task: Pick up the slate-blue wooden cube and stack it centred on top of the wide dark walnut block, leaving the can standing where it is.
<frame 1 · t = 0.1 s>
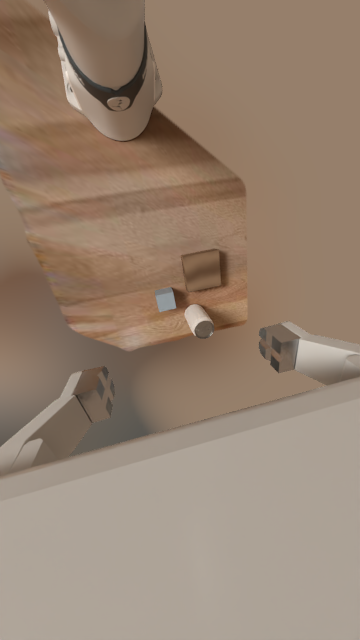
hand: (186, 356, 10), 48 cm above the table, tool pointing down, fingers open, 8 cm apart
walnut block: (199, 269, 57), on the table
can: (193, 312, 63), on the table
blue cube: (164, 296, 59), on the table
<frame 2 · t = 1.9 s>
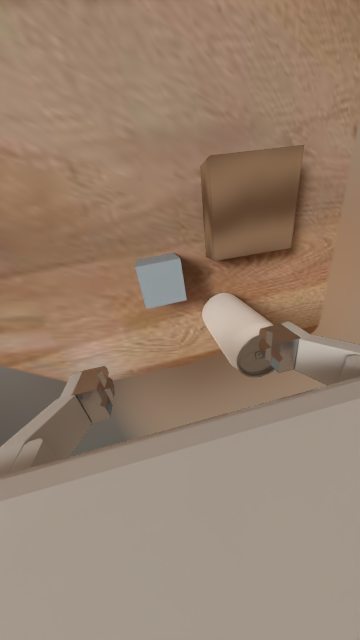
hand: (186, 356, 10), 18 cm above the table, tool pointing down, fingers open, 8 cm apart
walnut block: (239, 210, 25), on the table
can: (220, 310, 31), on the table
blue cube: (159, 275, 26), on the table
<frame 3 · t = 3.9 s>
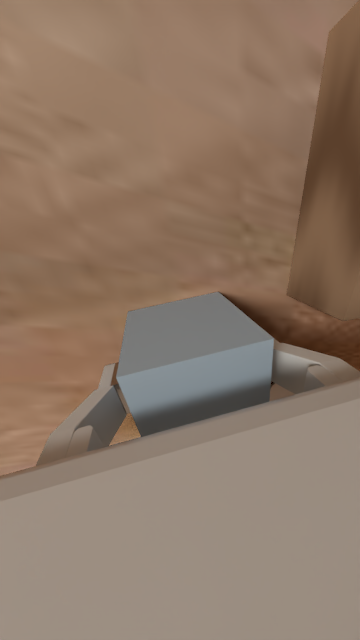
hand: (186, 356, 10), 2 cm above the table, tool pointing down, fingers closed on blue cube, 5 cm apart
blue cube: (181, 340, 11), on the table, touching gripper
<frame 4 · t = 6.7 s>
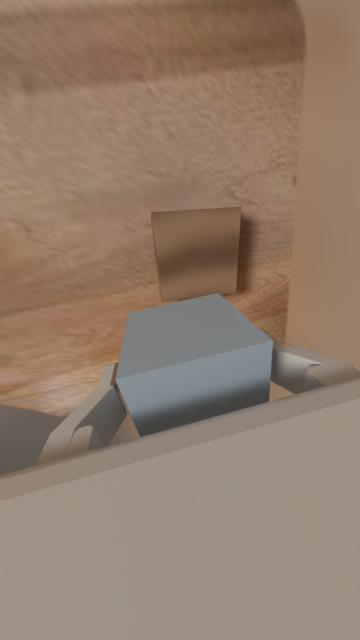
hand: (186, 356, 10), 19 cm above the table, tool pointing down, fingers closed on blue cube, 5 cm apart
walnut block: (191, 254, 26), on the table
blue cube: (181, 341, 11), point 17 cm above the table, touching gripper
when the fingers open (7 cm above the table, at t = 9.5 s): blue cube drops 1 cm, point 4 cm above the table.
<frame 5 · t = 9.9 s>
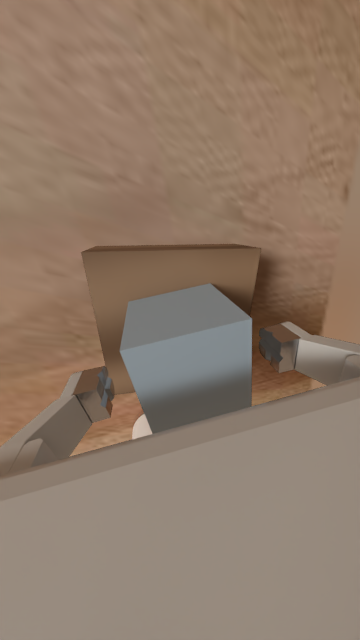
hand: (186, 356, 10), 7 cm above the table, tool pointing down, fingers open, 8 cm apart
walnut block: (170, 307, 16), on the table
can: (161, 422, 22), on the table
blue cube: (177, 327, 13), point 4 cm above the table
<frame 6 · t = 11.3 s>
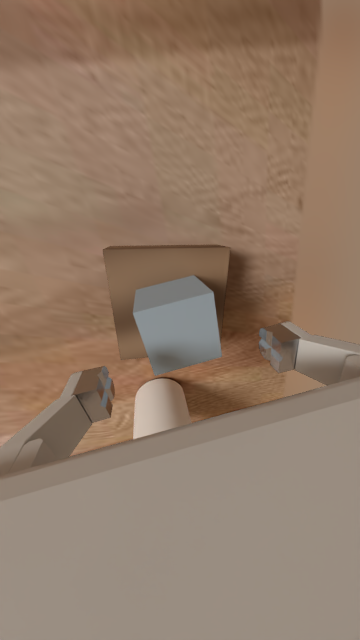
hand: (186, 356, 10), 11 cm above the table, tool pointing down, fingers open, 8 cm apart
walnut block: (166, 294, 21), on the table
can: (159, 393, 26), on the table
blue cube: (171, 309, 17), point 4 cm above the table
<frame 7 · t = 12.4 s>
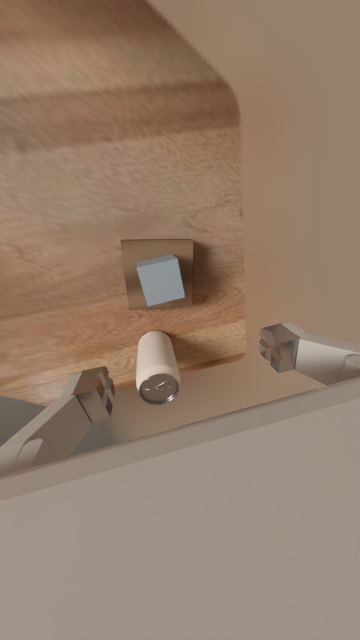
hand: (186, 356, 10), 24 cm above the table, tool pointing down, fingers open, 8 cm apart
walnut block: (158, 271, 32), on the table, touching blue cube
can: (155, 344, 37), on the table
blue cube: (159, 275, 28), point 4 cm above the table, touching walnut block
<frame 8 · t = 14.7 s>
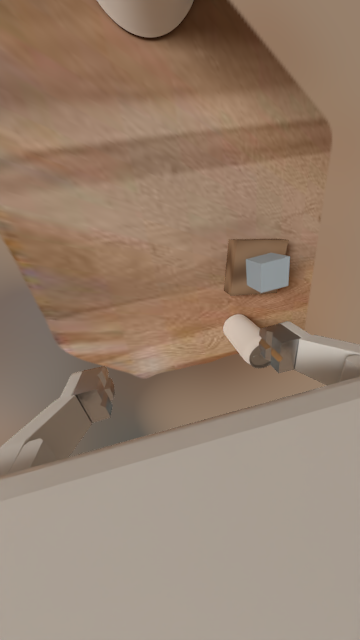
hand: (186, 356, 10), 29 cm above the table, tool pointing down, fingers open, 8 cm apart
walnut block: (248, 265, 40), on the table, touching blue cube
can: (235, 325, 45), on the table
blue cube: (258, 269, 36), point 4 cm above the table, touching walnut block
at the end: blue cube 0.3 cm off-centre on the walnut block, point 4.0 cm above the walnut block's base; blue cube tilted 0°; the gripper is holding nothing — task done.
